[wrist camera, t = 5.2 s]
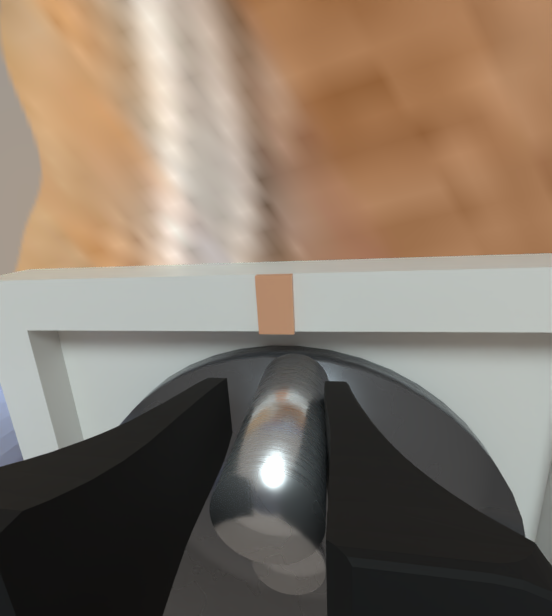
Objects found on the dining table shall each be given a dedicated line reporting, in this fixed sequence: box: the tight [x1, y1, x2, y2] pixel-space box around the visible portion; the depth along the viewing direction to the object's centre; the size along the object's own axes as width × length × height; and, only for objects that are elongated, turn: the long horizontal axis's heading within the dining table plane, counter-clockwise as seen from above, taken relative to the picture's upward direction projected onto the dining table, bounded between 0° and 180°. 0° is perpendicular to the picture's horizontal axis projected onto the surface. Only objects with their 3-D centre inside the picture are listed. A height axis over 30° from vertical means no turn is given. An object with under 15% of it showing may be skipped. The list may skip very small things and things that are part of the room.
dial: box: [119, 345, 526, 616], centre depth 12 cm, size 18×18×7 cm
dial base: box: [0, 253, 552, 565], centre depth 16 cm, size 24×24×3 cm
